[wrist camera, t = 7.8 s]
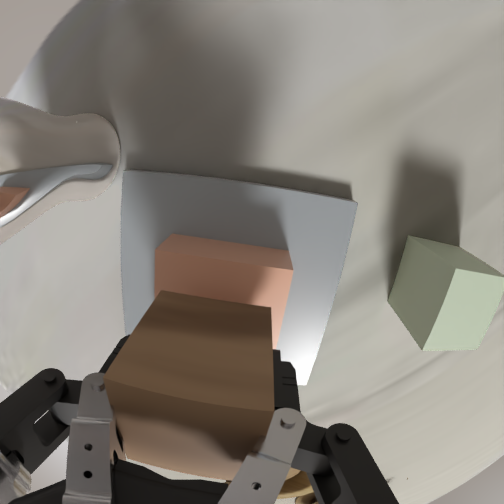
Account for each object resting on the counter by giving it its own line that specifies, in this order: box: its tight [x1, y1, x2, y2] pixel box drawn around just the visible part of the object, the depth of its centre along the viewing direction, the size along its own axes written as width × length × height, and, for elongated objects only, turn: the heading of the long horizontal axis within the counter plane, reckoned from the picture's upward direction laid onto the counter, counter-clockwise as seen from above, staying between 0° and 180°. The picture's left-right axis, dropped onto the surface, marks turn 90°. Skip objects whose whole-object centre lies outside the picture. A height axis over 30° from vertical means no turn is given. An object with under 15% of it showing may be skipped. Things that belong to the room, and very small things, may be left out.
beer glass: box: [0, 97, 120, 245], centre depth 10 cm, size 7×7×15 cm
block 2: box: [388, 235, 504, 351], centre depth 16 cm, size 5×5×6 cm
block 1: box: [103, 290, 274, 481], centre depth 11 cm, size 5×5×6 cm
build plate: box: [121, 169, 358, 385], centre depth 17 cm, size 14×14×4 cm
